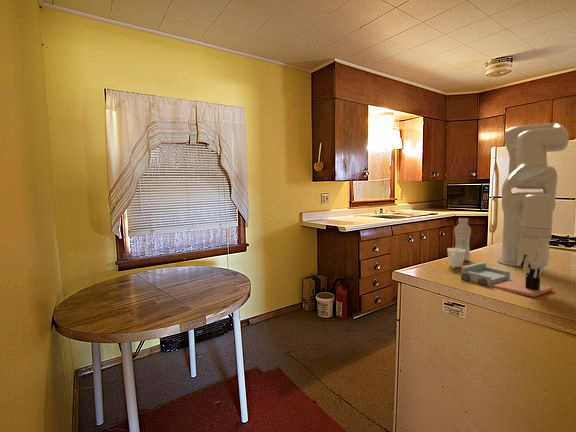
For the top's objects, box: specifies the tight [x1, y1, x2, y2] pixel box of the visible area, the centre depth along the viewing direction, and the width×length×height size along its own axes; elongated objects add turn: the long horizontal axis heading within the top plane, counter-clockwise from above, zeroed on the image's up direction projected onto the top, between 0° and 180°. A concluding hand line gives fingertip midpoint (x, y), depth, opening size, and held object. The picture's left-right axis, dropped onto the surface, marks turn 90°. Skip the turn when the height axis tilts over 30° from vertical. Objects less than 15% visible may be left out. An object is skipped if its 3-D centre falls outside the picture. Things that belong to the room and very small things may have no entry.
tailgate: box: [492, 279, 554, 298], centre depth 100 cm, size 12×12×1 cm
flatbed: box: [460, 261, 511, 288], centre depth 110 cm, size 15×11×5 cm
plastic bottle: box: [454, 217, 472, 263], centre depth 136 cm, size 6×7×20 cm
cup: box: [446, 247, 466, 270], centre depth 125 cm, size 7×10×8 cm
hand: (532, 288), depth 97 cm, fingers closed
